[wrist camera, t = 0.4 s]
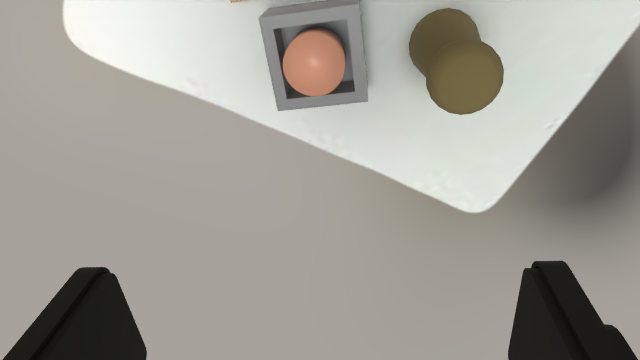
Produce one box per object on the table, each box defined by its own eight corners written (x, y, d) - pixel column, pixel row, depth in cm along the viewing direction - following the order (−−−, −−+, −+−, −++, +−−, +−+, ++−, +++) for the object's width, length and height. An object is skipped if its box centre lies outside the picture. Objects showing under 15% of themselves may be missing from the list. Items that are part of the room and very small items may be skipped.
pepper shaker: (429, 90, 41) (449, 141, 32) (396, 35, 39) (406, 74, 29) (491, 53, 39) (531, 96, 30) (459, -7, 37) (491, 20, 27)
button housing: (267, 8, 39) (258, 17, 35) (358, -5, 37) (358, 3, 34) (284, 95, 43) (277, 111, 39) (367, 85, 41) (367, 101, 38)
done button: (283, 30, 37) (277, 39, 34) (342, 22, 36) (340, 30, 34) (293, 87, 39) (288, 99, 37) (349, 81, 39) (348, 92, 36)
